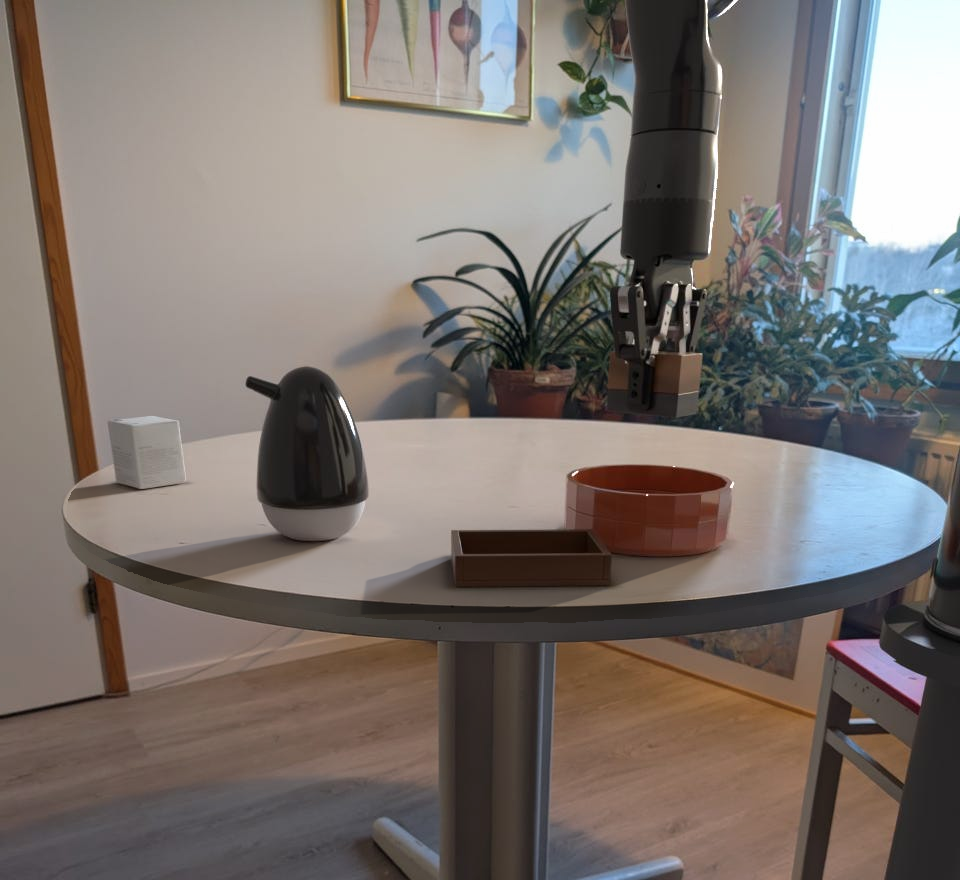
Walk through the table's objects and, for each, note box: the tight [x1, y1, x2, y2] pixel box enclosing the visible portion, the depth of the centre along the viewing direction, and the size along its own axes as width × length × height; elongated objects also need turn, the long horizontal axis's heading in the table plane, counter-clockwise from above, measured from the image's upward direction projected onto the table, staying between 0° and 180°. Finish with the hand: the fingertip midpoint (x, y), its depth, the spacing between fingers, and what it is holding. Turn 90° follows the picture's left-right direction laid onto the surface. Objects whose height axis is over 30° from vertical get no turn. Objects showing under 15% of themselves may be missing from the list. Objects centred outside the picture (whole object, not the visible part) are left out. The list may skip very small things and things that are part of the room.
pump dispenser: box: [244, 365, 370, 542], centre depth 81 cm, size 10×10×15 cm
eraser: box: [606, 350, 703, 419], centre depth 80 cm, size 7×4×5 cm, turn 52°
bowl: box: [563, 463, 735, 558], centre depth 84 cm, size 15×15×6 cm
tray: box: [450, 528, 613, 588], centre depth 73 cm, size 12×8×2 cm
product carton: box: [107, 415, 187, 490], centre depth 104 cm, size 6×6×7 cm
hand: (652, 407), depth 81 cm, fingers closed on eraser, 4 cm apart
